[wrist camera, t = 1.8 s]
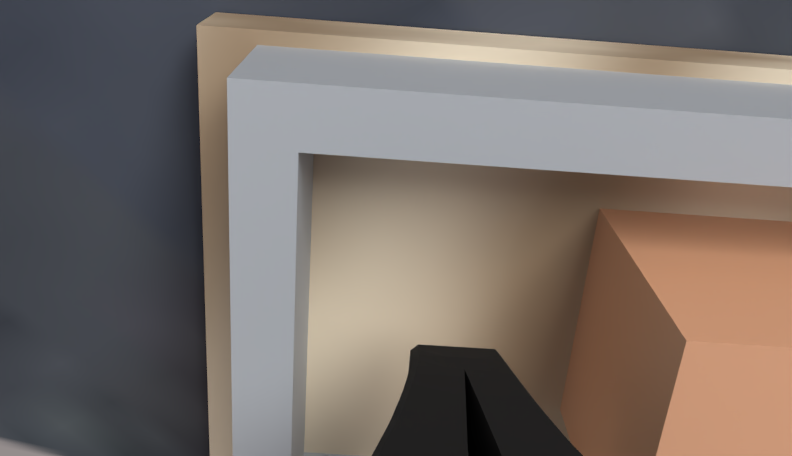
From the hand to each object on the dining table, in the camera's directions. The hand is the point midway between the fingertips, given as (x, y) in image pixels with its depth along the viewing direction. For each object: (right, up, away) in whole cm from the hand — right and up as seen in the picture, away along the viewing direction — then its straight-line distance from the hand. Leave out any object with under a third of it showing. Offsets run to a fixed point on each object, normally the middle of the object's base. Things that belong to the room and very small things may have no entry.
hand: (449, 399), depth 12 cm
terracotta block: (+5, +1, +3) cm, 6 cm away
